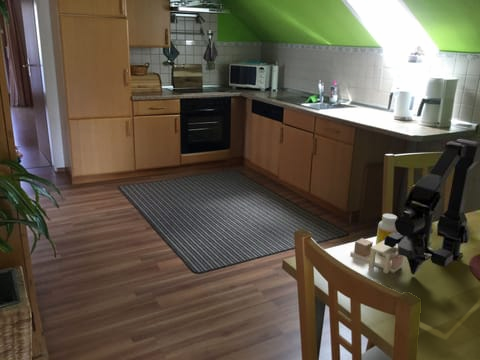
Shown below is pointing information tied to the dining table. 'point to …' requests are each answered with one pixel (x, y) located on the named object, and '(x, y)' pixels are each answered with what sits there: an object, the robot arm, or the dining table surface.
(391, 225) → the supplement bottle
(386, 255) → the small table
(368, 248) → the sled
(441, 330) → the dining table surface
